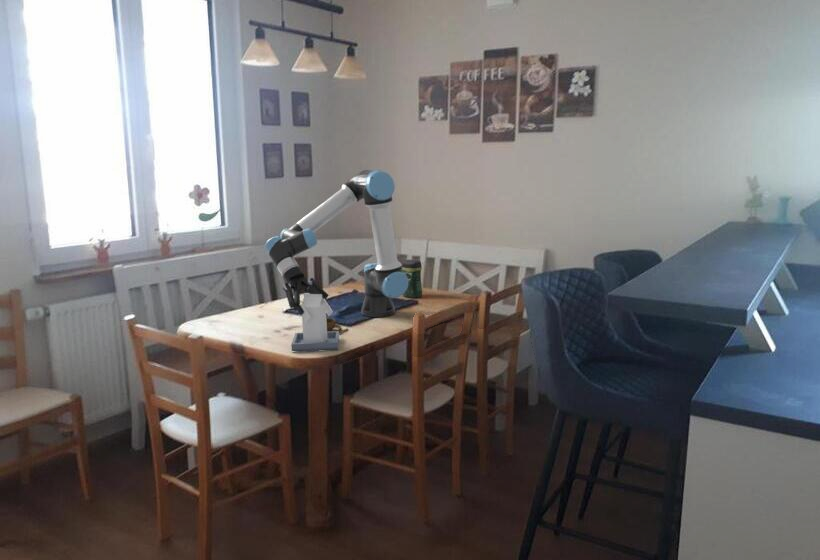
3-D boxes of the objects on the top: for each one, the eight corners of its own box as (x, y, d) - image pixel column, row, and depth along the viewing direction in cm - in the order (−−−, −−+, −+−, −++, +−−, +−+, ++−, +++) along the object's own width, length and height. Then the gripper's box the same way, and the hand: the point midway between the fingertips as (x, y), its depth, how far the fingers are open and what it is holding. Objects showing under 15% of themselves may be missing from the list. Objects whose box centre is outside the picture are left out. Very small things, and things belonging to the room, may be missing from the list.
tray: (339, 338, 255) (338, 331, 255) (337, 350, 241) (337, 342, 240) (295, 340, 254) (295, 332, 253) (291, 352, 239) (291, 344, 239)
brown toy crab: (300, 334, 264) (299, 320, 263) (323, 321, 283) (322, 308, 281) (339, 337, 258) (338, 323, 257) (359, 324, 277) (359, 311, 276)
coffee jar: (424, 296, 325) (424, 259, 321) (415, 299, 319) (414, 262, 315) (409, 293, 331) (409, 257, 327) (400, 296, 324) (399, 260, 321)
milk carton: (321, 345, 243) (318, 296, 239) (303, 345, 244) (300, 296, 240) (327, 340, 250) (325, 292, 246) (310, 339, 251) (307, 291, 247)
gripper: (309, 273, 261) (337, 316, 254) (263, 282, 244) (291, 329, 237) (317, 261, 256) (346, 305, 249) (270, 270, 239) (300, 317, 232)
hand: (320, 317), depth 243 cm, fingers open, 10 cm apart
